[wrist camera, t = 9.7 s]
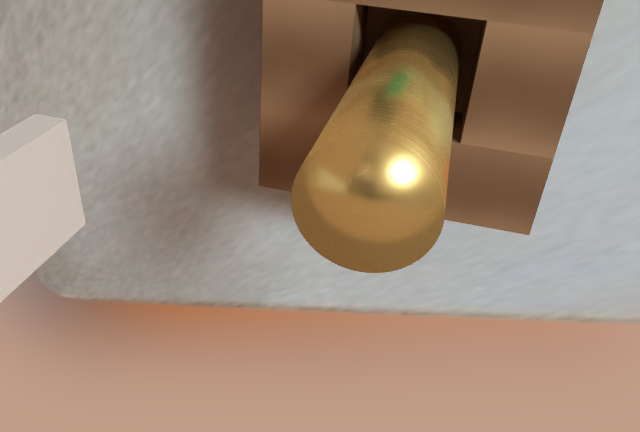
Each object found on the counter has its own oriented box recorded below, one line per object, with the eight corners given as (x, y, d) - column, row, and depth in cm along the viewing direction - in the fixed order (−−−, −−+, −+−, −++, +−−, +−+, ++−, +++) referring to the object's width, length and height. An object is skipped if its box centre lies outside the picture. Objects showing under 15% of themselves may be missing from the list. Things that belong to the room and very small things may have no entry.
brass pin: (382, 4, 24) (295, 125, 13) (468, 15, 24) (459, 152, 12) (372, 86, 26) (288, 257, 15) (451, 98, 26) (429, 285, 14)
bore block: (313, -120, 26) (265, -117, 20) (593, -94, 24) (630, -83, 18) (299, 128, 32) (259, 185, 26) (519, 164, 30) (528, 235, 24)
